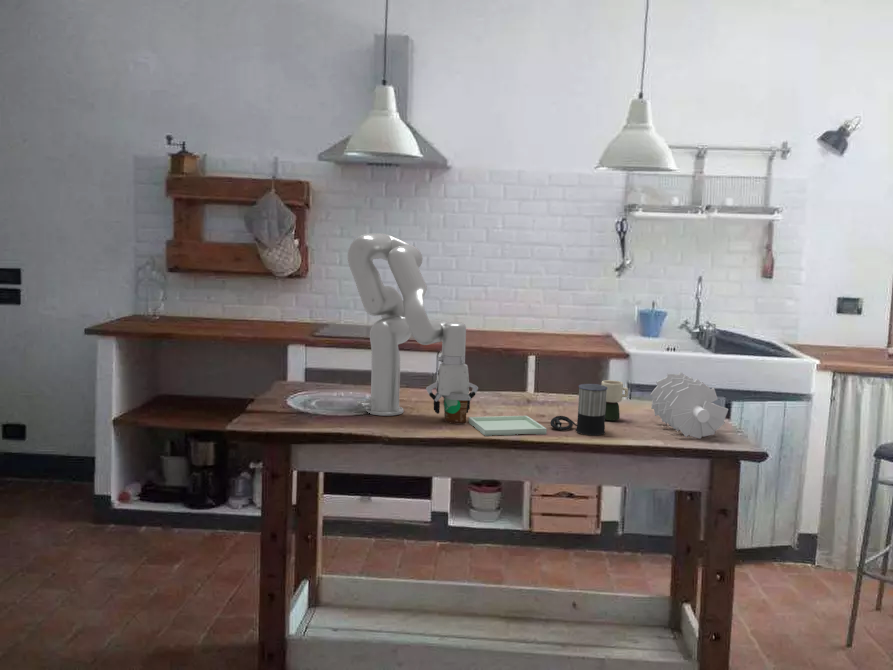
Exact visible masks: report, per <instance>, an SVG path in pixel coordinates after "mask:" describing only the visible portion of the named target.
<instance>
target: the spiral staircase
mask: <svg viewBox="0 0 893 670" xmlns="http://www.w3.org/2000/svg"><path fill="white" fill-rule="evenodd" d="M656 385H657V386H656V387H655V388H654V389H653V390H652V392H651V393H650V396H651V397H652V400H651V402H652V403H651V410H653V411H654V412H653V413H654V416H656V417H657V416H658V417H660V419H661V421H662V423H664V424H668V425H669V426H670V427H671V428H672V429H673V430H675V431H676V432H678V431H680V432H681V433H682V435H683V436H684V437H685V438H687V437H688V436H690V437H693V438H696V439H699V440H700V439H701V438H702V437H707V436H713V435H716V432H717V431H718V430H719V428H721V427H722V426H723V425H724V424H726V422H725V420H726V417H727V414H728V411H729V408H727V407H724V406H721V405H718V404H716V403H713V402H715V401H718V400H719V398H718V396H717V392H716V389H715V387H712V388H710V387H709V385H707V384H706V383H704V382H701V381H700V380H699V379H698V378H696V379H693V377H692V376H690V377H688V376H687V375H685V374H684V373H683V372H681V371H679V373H676V374H675V373H666V376H665V377H663V378H661V379H659V380H657V381H656Z"/></svg>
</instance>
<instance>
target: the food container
mask: <svg viewBox="0 0 893 670" xmlns="http://www.w3.org/2000/svg"><path fill="white" fill-rule="evenodd" d="M441 398H442V399H443V407H444V408H443V409H444V410H443V411H444V414H443V415H444V421H445V422H446V421H447V422H446V423H449V422H451V424H455V423H467V414H468V413H467V401H468V394H456V393H450V395H449V396H442V397H441Z"/></svg>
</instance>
